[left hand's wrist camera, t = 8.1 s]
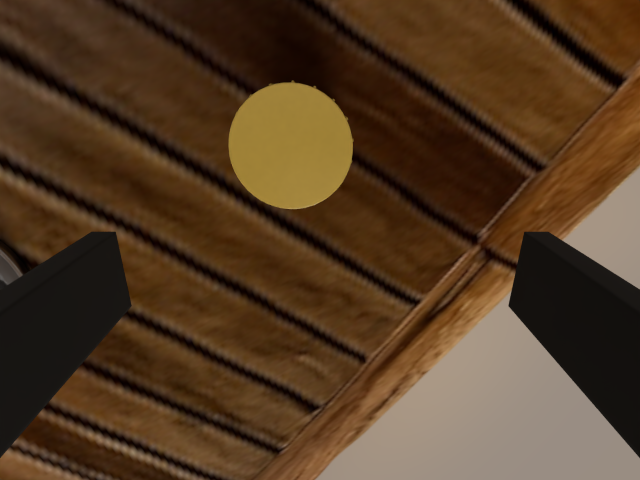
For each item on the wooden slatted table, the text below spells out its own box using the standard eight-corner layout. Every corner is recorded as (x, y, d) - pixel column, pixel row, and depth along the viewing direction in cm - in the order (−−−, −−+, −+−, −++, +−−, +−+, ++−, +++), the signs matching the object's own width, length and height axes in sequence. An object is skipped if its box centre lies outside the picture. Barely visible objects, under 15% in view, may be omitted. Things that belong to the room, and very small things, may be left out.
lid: (236, 199, 21) (229, 207, 19) (232, 77, 18) (224, 76, 17) (346, 204, 21) (348, 213, 19) (356, 84, 18) (359, 84, 17)
